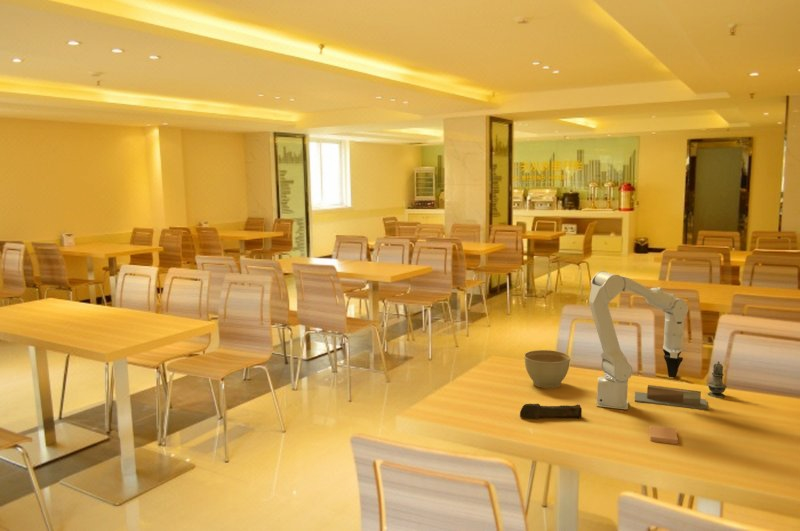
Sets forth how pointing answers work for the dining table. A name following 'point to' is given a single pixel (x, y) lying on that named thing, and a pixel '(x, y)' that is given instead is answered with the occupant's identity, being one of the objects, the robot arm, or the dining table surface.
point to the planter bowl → (547, 367)
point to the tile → (663, 434)
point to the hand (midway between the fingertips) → (671, 373)
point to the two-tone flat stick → (674, 395)
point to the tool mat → (643, 398)
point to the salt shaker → (717, 382)
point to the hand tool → (550, 411)
